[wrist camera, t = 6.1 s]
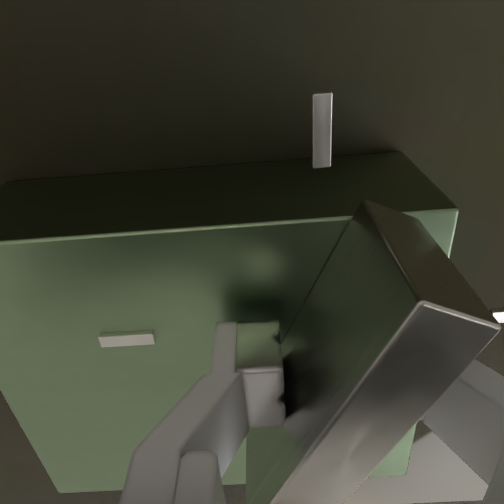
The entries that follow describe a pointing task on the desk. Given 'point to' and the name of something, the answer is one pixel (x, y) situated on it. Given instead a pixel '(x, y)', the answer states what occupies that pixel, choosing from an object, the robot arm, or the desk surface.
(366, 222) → the grey lever
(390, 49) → the desk surface
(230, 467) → the green lever box
